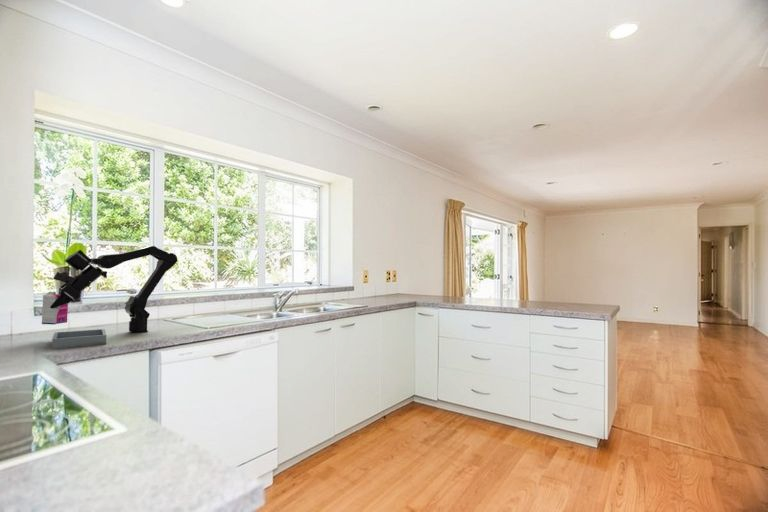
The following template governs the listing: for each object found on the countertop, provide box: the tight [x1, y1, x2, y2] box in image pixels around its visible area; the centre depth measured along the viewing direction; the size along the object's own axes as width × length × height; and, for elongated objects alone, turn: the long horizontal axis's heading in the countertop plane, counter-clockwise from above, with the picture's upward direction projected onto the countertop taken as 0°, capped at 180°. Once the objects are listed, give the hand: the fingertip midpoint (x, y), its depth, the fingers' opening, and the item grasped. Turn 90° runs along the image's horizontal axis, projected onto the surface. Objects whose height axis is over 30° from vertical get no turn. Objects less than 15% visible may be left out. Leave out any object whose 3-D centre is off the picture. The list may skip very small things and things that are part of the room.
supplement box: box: [41, 293, 69, 325], centre depth 158 cm, size 6×6×12 cm
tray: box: [51, 328, 108, 350], centre depth 154 cm, size 16×16×4 cm
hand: (50, 306), depth 157 cm, fingers closed on supplement box, 8 cm apart
